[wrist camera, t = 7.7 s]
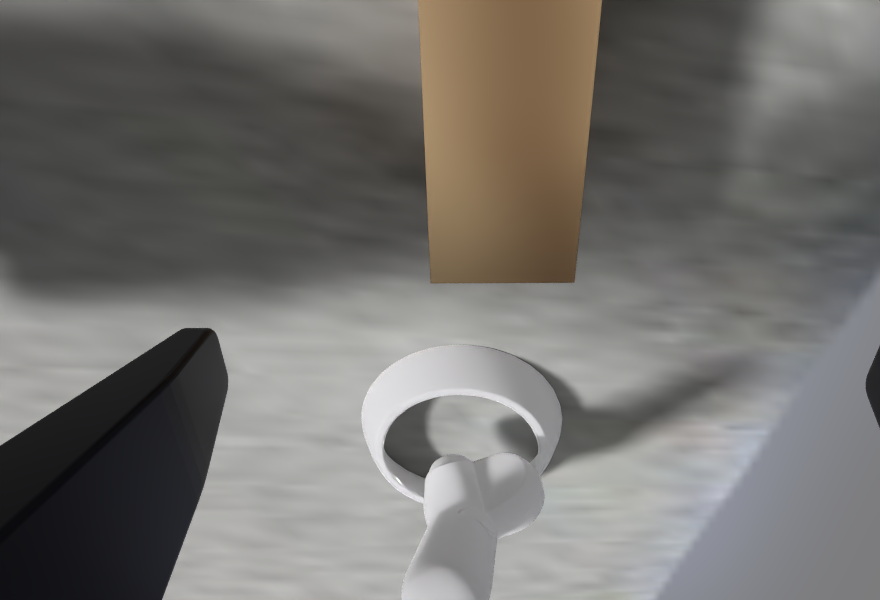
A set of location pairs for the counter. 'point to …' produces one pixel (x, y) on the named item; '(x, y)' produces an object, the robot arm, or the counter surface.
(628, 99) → the counter surface
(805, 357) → the counter surface
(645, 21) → the counter surface
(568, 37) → the wooden block
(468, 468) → the vr controller
